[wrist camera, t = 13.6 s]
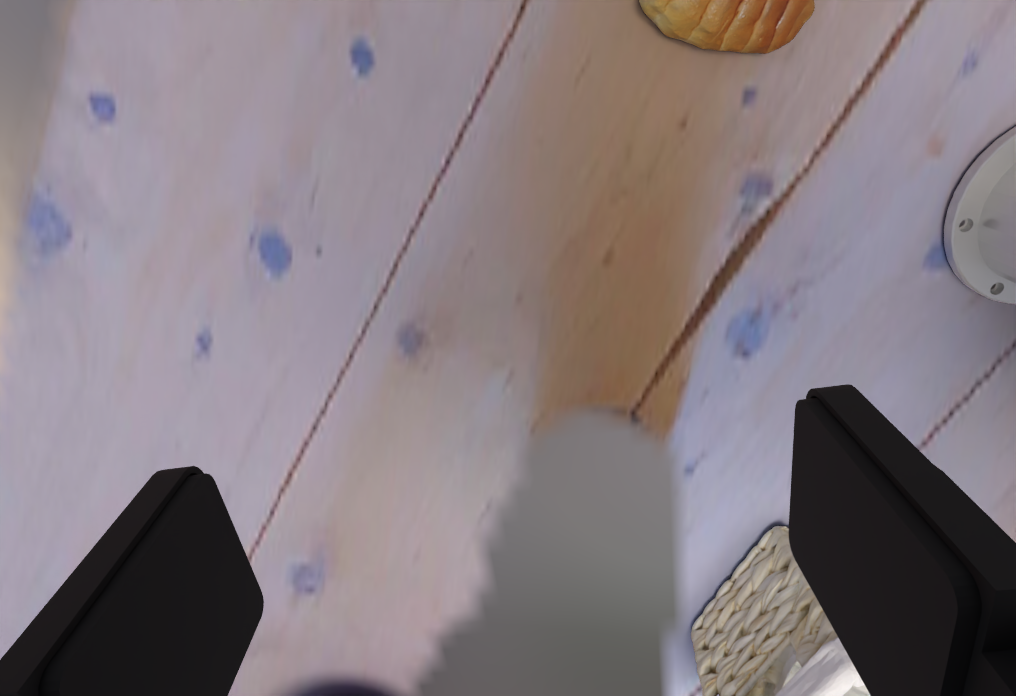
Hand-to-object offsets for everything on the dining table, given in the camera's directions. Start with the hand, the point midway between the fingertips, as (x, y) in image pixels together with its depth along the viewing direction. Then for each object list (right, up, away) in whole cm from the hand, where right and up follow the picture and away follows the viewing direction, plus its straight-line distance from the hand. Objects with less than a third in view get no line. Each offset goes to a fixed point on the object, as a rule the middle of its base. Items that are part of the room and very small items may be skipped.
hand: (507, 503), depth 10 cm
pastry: (+12, +23, +26) cm, 37 cm away
